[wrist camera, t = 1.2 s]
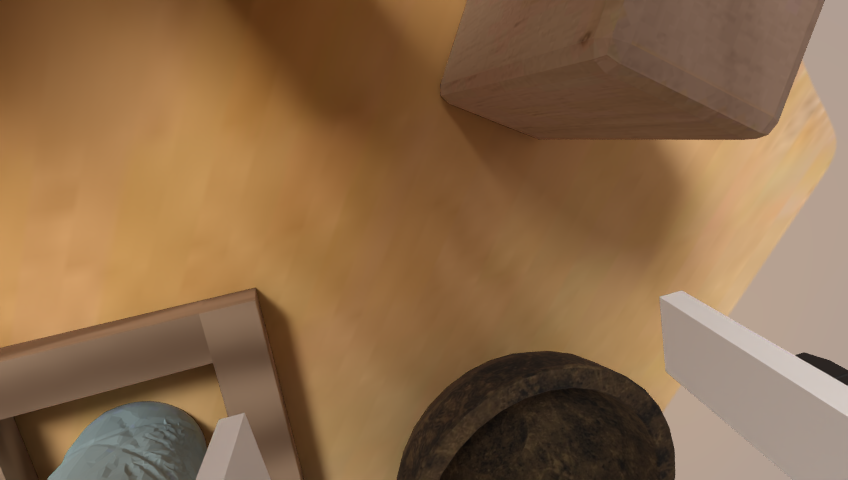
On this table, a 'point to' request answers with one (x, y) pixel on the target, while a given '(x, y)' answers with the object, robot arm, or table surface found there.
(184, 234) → the table surface
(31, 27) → the table surface
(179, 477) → the grey-green cup
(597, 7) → the wooden block
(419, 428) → the bowl
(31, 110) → the table surface
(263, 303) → the table surface
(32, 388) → the well board
